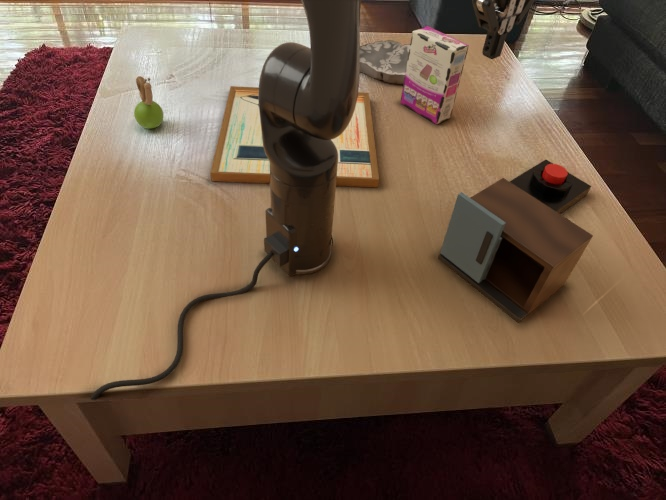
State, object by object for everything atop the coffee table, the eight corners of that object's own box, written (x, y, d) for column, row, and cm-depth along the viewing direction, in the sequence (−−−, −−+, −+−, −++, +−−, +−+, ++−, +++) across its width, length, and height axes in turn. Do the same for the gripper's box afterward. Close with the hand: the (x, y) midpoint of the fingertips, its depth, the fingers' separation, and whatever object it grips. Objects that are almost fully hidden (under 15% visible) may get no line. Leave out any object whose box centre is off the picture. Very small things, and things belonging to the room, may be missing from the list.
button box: (550, 221, 93) (558, 204, 90) (504, 191, 98) (511, 174, 95) (586, 195, 98) (595, 178, 96) (542, 168, 103) (549, 151, 101)
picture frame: (368, 92, 116) (379, 179, 95) (367, 100, 117) (377, 187, 96) (230, 86, 114) (210, 172, 93) (231, 93, 115) (211, 181, 95)
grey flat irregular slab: (439, 63, 131) (441, 52, 129) (419, 94, 120) (421, 82, 118) (366, 45, 136) (367, 33, 134) (340, 73, 125) (341, 61, 123)
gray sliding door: (477, 284, 80) (501, 225, 71) (438, 253, 84) (456, 194, 75) (481, 281, 81) (506, 222, 72) (443, 250, 85) (461, 191, 76)
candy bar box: (451, 118, 114) (470, 44, 102) (436, 125, 112) (454, 51, 100) (413, 96, 120) (427, 24, 108) (398, 102, 117) (411, 30, 105)
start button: (556, 187, 94) (559, 180, 92) (537, 176, 96) (540, 168, 94) (568, 179, 95) (572, 172, 94) (549, 168, 97) (553, 160, 96)
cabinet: (518, 322, 77) (544, 273, 69) (437, 258, 85) (453, 207, 77) (564, 284, 83) (593, 235, 75) (484, 227, 91) (503, 177, 83)
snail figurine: (145, 139, 102) (132, 82, 93) (133, 123, 105) (119, 67, 97) (172, 131, 104) (161, 75, 96) (158, 116, 108) (147, 60, 99)
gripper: (536, -95, 68) (498, 35, 81) (471, -82, 62) (440, 57, 75) (587, -80, 65) (538, 54, 77) (523, -64, 58) (481, 79, 71)
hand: (490, 56), depth 76 cm, fingers closed
